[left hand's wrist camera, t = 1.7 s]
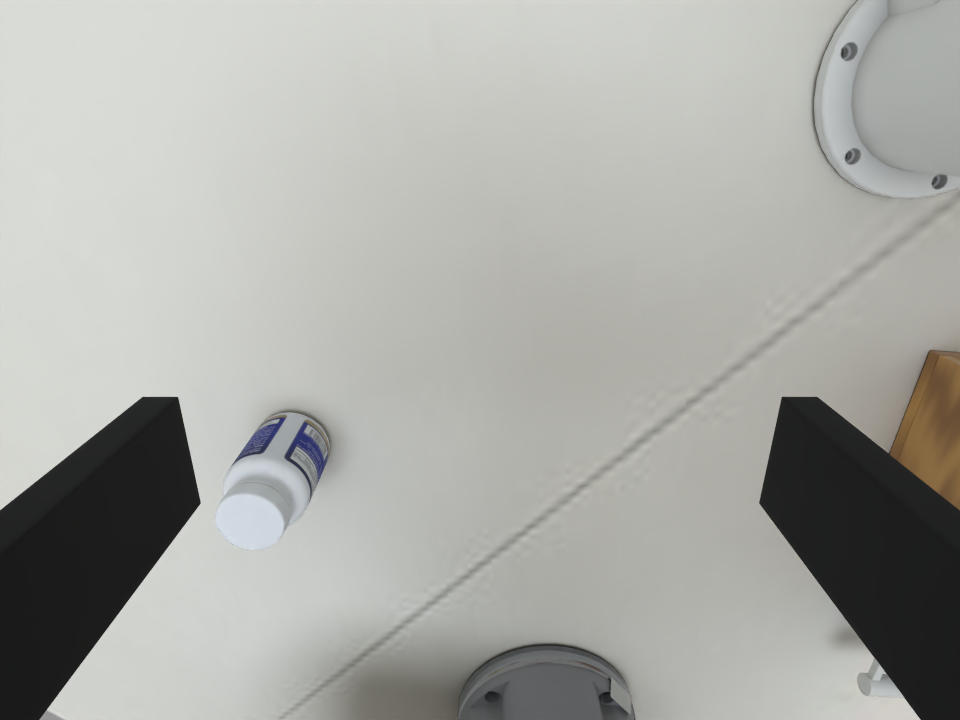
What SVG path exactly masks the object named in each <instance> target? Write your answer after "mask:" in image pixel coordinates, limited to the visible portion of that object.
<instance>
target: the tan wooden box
mask: <svg viewBox="0 0 960 720" xmlns="http://www.w3.org/2000/svg"><path fill="white" fill-rule="evenodd" d="M890 455H891V456H892V457H893V458H895V459H896V460H897V461H898V462H900V463H901V464H902V465H903V466H905V467H906V468H907V469H908V470H910V471H911V472H912V473H913V474H915V475H916V476H917V477H918V478H920V479H921V480H922V481H923V482H925V483H926V484H927V485H929V486H930V487H931V488H932V489H934V490H935V491H936V492H937V493H939V494H940V495H941V496H942V497H944V498H945V499H946V500H947V501H949V502H950V503H951V504H952V505H954V506H955V507H956V508H957V509H959V510H960V352H944V351H930V352H929V354H928V357H927V360H926V362H925V365H924V367H923V370H922V372H921V375H920V378H919V380H918V383H917V385H916V388H915V390H914V393H913V396H912V398H911V401H910V403H909V406H908V408H907V411H906V413H905V416H904V419H903V421H902V424H901V426H900V429H899V431H898V434H897V437H896V439H895V442H894V444H893V447H892V449H891V452H890Z"/></svg>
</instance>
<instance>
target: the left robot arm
mask: <svg viewBox="0 0 960 720" xmlns="http://www.w3.org/2000/svg"><path fill="white" fill-rule="evenodd" d="M200 503H201V502H200V498H199V493H198V488H197V483H196V479H195V474H194V469H193V465H192V460H191V455H190V451H189V446H188V441H187V437H186V432H185V427H184V423H183V418H182V413H181V409H180V404H179V399H178V397H142V398H141V399H140V400H138V401H137V402H136V403H135V404H133V405H132V406H131V407H130V408H128V409H127V410H126V411H125V412H123V413H122V414H121V415H120V416H118V417H117V418H116V419H114V420H113V421H112V422H111V423H109V424H108V425H107V426H106V427H104V428H103V429H102V430H101V431H99V432H98V433H97V434H96V435H94V436H93V437H92V438H91V439H89V440H88V441H87V442H86V443H84V444H83V445H82V446H81V447H79V448H78V449H77V450H76V451H74V452H73V453H72V454H70V455H69V456H68V457H67V458H65V459H64V460H63V461H62V462H60V463H59V464H58V465H57V466H55V467H54V468H53V469H52V470H50V471H49V472H48V473H47V474H45V475H44V476H43V477H42V478H40V479H39V480H38V481H37V482H35V483H34V484H33V485H31V486H30V487H29V488H28V489H26V490H25V491H24V492H23V493H21V494H20V495H19V496H18V497H16V498H15V499H14V500H13V501H11V502H10V503H9V504H8V505H6V506H5V507H4V508H3V509H1V510H0V720H39V719H40V718H41V717H42V715H43V714H44V713H45V711H46V710H47V709H48V707H49V706H50V705H51V703H52V702H53V701H54V699H55V698H56V697H57V695H58V694H59V692H60V691H61V690H62V688H63V687H64V686H65V684H66V683H67V682H68V680H69V679H70V678H71V676H72V675H73V674H74V672H75V671H76V670H77V668H78V667H79V666H80V664H81V663H82V662H83V660H84V659H85V658H86V656H87V655H88V654H89V652H90V651H91V650H92V648H93V647H94V646H95V644H96V643H97V642H98V640H99V639H100V638H101V636H102V635H103V634H104V632H105V631H106V629H107V628H108V627H109V625H110V624H111V623H112V621H113V620H114V619H115V617H116V616H117V615H118V613H119V612H120V611H121V609H122V608H123V607H124V605H125V604H126V603H127V601H128V600H129V599H130V597H131V596H132V595H133V593H134V592H135V591H136V589H137V588H138V587H139V585H140V584H141V583H142V581H143V580H144V579H145V577H146V576H147V575H148V573H149V572H150V571H151V569H152V568H153V566H154V565H155V564H156V562H157V561H158V560H159V558H160V557H161V556H162V554H163V553H164V552H165V550H166V549H167V548H168V546H169V545H170V544H171V542H172V541H173V540H174V538H175V537H176V536H177V534H178V533H179V532H180V530H181V529H182V528H183V526H184V525H185V524H186V522H187V521H188V520H189V518H190V517H191V516H192V514H193V513H194V512H195V510H196V509H197V508H198V506H199V505H200ZM759 503H760V505H761V506H762V508H763V509H764V510H765V512H766V513H767V514H768V516H769V517H770V518H771V520H772V521H773V522H774V524H775V525H776V526H777V528H778V529H779V530H780V532H781V533H782V534H783V536H784V537H785V538H786V540H787V541H788V542H789V544H790V545H791V546H792V548H793V549H794V550H795V552H796V553H797V554H798V556H799V557H800V558H801V560H802V561H803V562H804V564H805V565H806V566H807V568H808V569H809V571H810V572H811V573H812V575H813V576H814V577H815V579H816V580H817V581H818V583H819V584H820V585H821V587H822V588H823V589H824V591H825V592H826V593H827V595H828V596H829V597H830V599H831V600H832V601H833V603H834V604H835V605H836V607H837V608H838V609H839V611H840V612H841V613H842V615H843V616H844V617H845V619H846V620H847V621H848V623H849V624H850V625H851V627H852V628H853V629H854V631H855V632H856V634H857V635H858V636H859V638H860V639H861V640H862V642H863V643H864V644H865V646H866V647H867V648H868V650H869V651H870V652H871V654H872V655H873V656H874V658H875V659H876V660H877V662H878V663H879V664H880V666H881V667H882V668H883V670H884V671H885V672H886V674H887V675H888V676H889V678H890V679H891V680H892V682H893V683H894V684H895V686H896V687H897V688H898V690H899V691H900V692H901V694H902V695H903V697H904V698H905V699H906V701H907V702H908V703H909V705H910V706H911V707H912V709H913V710H914V711H915V713H916V714H917V715H918V717H919V718H920V719H921V720H960V510H959V509H957V508H956V507H955V506H954V505H952V504H951V503H950V502H949V501H947V500H946V499H945V498H944V497H942V496H941V495H940V494H939V493H937V492H936V491H935V490H934V489H932V488H931V487H930V486H929V485H927V484H926V483H925V482H923V481H922V480H921V479H920V478H918V477H917V476H916V475H915V474H913V473H912V472H911V471H910V470H908V469H907V468H906V467H905V466H903V465H902V464H901V463H900V462H898V461H897V460H896V459H895V458H893V457H892V456H891V455H890V454H888V453H887V452H886V451H884V450H883V449H882V448H881V447H879V446H878V445H877V444H876V443H874V442H873V441H872V440H871V439H869V438H868V437H867V436H866V435H864V434H863V433H862V432H861V431H859V430H858V429H857V428H856V427H854V426H853V425H852V424H851V423H849V422H848V421H847V420H846V419H844V418H843V417H842V416H840V415H839V414H838V413H837V412H835V411H834V410H833V409H832V408H830V407H829V406H828V405H827V404H825V403H824V402H823V401H822V400H820V399H819V398H818V397H782V399H781V404H780V409H779V413H778V418H777V423H776V427H775V432H774V437H773V441H772V446H771V451H770V455H769V460H768V465H767V469H766V474H765V479H764V483H763V488H762V493H761V498H760V502H759ZM458 720H635V714H634V709H633V705H632V701H631V695H630V694H629V690H628V688H627V685H626V683H625V681H624V680H623V678H622V677H621V675H620V674H619V673H618V672H617V671H616V670H615V669H614V668H613V667H612V666H611V665H609V664H608V663H607V662H605V661H604V660H602V659H600V658H599V657H597V656H594V655H592V654H590V653H587V652H585V651H581V650H578V649H574V648H569V647H562V646H534V647H527V648H522V649H518V650H514V651H511V652H508V653H505V654H503V655H500V656H498V657H496V658H494V659H492V660H491V661H489V662H488V663H486V664H484V665H483V666H482V667H481V668H479V669H478V670H477V671H476V672H475V673H474V674H473V675H472V676H471V677H470V679H469V680H468V681H467V683H466V684H465V686H464V688H463V690H462V693H461V696H460V700H459V711H458Z"/></svg>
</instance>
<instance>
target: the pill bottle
mask: <svg viewBox="0 0 960 720" xmlns="http://www.w3.org/2000/svg"><path fill="white" fill-rule="evenodd" d="M329 453H330V443H329V439H328V437H327V435H326V433H325V431H324V430H323V428H322V427H321V426H320V425H319V424H318V423H317V422H316V421H314V420H313V419H311V418H309V417H307V416H305V415H302V414H299V413H292V412H285V413H279V414H276V415H273V416H271V417H269V418H268V419H266V420H265V421H264V422H263V423H262V424H261V425H260V426H259V428H258V429H257V430H256V432H255V433H254V435H253V436H252V438H251V439H250V440H249V442H248V443H247V445H246V446H245V447H244V449H243V450H242V452H241V453H240V455H239V456H238V457H237V459H236V460H235V462H234V463H233V465H232V466H231V467H230V469H229V471H228V472H227V474H226V476H225V478H224V481H223V487H222V493H223V499H222V501H221V502H220V504H219V505H218V507H217V509H216V513H215V523H216V526H217V529H218V530H219V532H220V534H221V535H222V536H223V537H224V538H225V539H226V540H227V541H229V542H230V543H231V544H233V545H235V546H237V547H240V548H243V549H247V550H261V549H265V548H268V547H270V546H272V545H274V544H275V543H276V542H278V541H279V540H280V538H281V537H282V535H283V533H284V531H285V529H286V528H287V526H289V525H291V524H292V523H294V522H295V521H297V520H298V519H299V518H300V517H301V516H302V514H303V513H304V511H305V510H306V508H307V506H308V504H309V502H310V500H311V497H312V495H313V493H314V490H315V488H316V486H317V484H318V481H319V479H320V477H321V474H322V472H323V470H324V467H325V465H326V463H327V460H328V457H329Z"/></svg>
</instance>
